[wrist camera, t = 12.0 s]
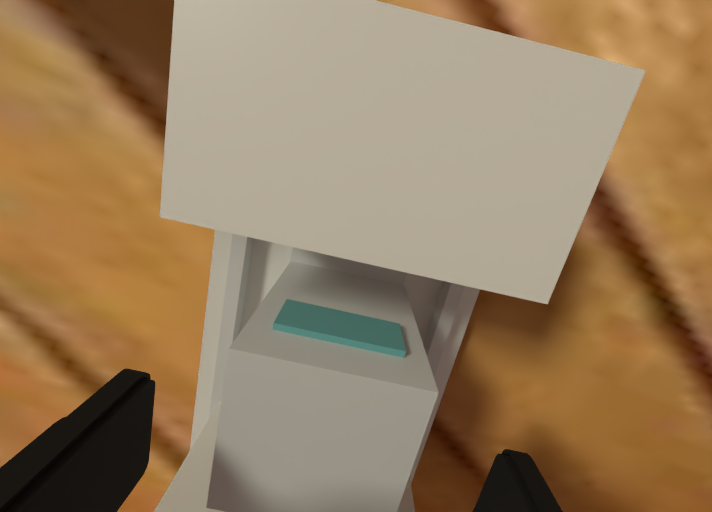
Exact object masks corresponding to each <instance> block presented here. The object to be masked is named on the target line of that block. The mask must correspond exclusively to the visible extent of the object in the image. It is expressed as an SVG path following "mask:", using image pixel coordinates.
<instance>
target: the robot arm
mask: <svg viewBox="0 0 712 512" xmlns="http://www.w3.org/2000/svg"><path fill="white" fill-rule="evenodd" d="M154 394H155V381H153V380H150V374H149V373H145V372H141V371H136V370H131V369H124V370H122V371H121V372H120V373H118V374H117V375H116V376H115V377H114V378H112V379H111V380H110V381H109V382H108V383H106V384H105V385H104V386H103V387H102V388H100V389H99V390H98V391H97V392H96V393H94V394H93V395H92V396H91V397H90V398H89V399H87V400H86V401H85V402H84V403H83V404H81V405H80V406H79V407H78V408H77V409H75V410H74V411H73V412H72V413H71V414H69V415H68V416H67V417H64V418H62V419H60V420H59V421H57V422H56V423H54V424H53V425H52V426H51V427H49V428H48V429H47V430H46V431H45V432H43V433H42V434H41V435H40V436H38V437H37V438H36V439H35V440H34V441H32V442H31V443H30V444H29V445H28V446H26V447H25V448H24V449H23V450H22V451H20V452H19V453H18V454H17V455H15V456H14V457H13V458H12V459H11V460H9V461H8V462H7V463H6V464H5V465H3V466H2V467H1V468H0V512H117V511H118V509H119V508H120V506H121V505H122V504H123V502H124V501H125V500H126V498H127V497H128V495H129V494H130V493H131V491H132V490H133V488H134V487H135V486H136V484H137V483H138V481H139V480H140V479H141V477H142V476H143V474H144V472H145V470H146V468H147V465H148V461H149V452H150V440H151V429H152V417H153V406H154ZM473 512H562V510H561V508H560V506H559V505H558V503H557V501H556V499H555V498H554V496H553V494H552V492H551V491H550V489H549V487H548V485H547V484H546V482H545V480H544V478H543V477H542V475H541V473H540V471H539V470H538V468H537V466H536V465H535V463H534V461H533V459H532V458H531V456H530V455H528V454H527V453H522V452H518V451H513V450H508V449H505V450H504V451H503V452H502V454H498V455H497V456H496V457H495V460H494V462H493V465H492V467H491V469H490V472H489V474H488V477H487V479H486V482H485V484H484V486H483V489H482V491H481V494H480V496H479V498H478V501H477V503H476V506H475V508H474V510H473Z"/></svg>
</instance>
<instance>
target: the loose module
mask: <svg viewBox="0 0 712 512" xmlns="http://www.w3.org/2000/svg"><path fill="white" fill-rule="evenodd" d="M438 393H439V392H438V389H437V386H436V383H435V380H434V377H433V374H432V370H431V367H430V364H429V361H428V358H427V355H426V352H425V349H424V346H423V342H422V339H421V336H420V333H419V330H418V327H417V324H416V321H415V318H414V315H413V311H412V308H411V305H410V302H409V299H408V296H407V293H406V290H405V287H404V286H402V285H398V284H393V283H389V282H384V281H380V280H375V279H371V278H367V277H362V276H358V275H353V274H349V273H344V272H340V271H335V270H331V269H326V268H322V267H318V266H313V265H309V264H304V263H300V262H295V261H291V262H290V263H289V264H288V266H287V267H286V269H285V270H284V271H283V273H282V274H281V276H280V277H279V279H278V280H277V281H276V283H275V284H274V286H273V287H272V288H271V290H270V291H269V293H268V294H267V295H266V297H265V298H264V300H263V301H262V302H261V304H260V305H259V307H258V308H257V309H256V311H255V312H254V314H253V315H252V316H251V318H250V319H249V321H248V322H247V323H246V325H245V326H244V328H243V329H242V330H241V332H240V333H239V335H238V336H237V338H236V339H235V340H234V342H233V343H232V345H231V346H230V347H229V350H228V357H227V365H226V372H225V379H224V386H223V393H222V400H221V407H220V414H219V421H218V428H217V435H216V443H215V450H214V457H213V464H212V471H211V478H210V485H209V492H208V499H207V506H206V508H209V509H214V510H220V511H225V512H397V510H398V507H399V504H400V501H401V499H402V496H403V493H404V490H405V487H406V484H407V482H408V479H409V476H410V473H411V470H412V467H413V464H414V462H415V459H416V456H417V453H418V450H419V447H420V445H421V442H422V439H423V436H424V433H425V430H426V427H427V425H428V422H429V419H430V416H431V413H432V410H433V408H434V405H435V402H436V399H437V396H438Z"/></svg>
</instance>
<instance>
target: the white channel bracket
mask: <svg viewBox="0 0 712 512" xmlns="http://www.w3.org/2000/svg"><path fill="white" fill-rule="evenodd" d="M645 71H646V70H642V69H639V68H635V67H631V66H627V65H623V64H619V63H615V62H612V61H608V60H604V59H600V58H596V57H592V56H588V55H584V54H581V53H577V52H573V51H569V50H565V49H561V48H557V47H554V46H550V45H546V44H542V43H538V42H534V41H530V40H526V39H523V38H519V37H515V36H511V35H507V34H503V33H499V32H496V31H492V30H488V29H484V28H480V27H476V26H472V25H468V24H465V23H461V22H457V21H453V20H449V19H445V18H441V17H438V16H434V15H430V14H426V13H422V12H418V11H414V10H410V9H407V8H403V7H399V6H395V5H391V4H387V3H383V2H380V1H376V0H174V13H173V28H172V43H171V58H170V73H169V88H168V102H167V117H166V132H165V147H164V162H163V177H162V191H161V206H160V217H162V218H166V219H170V220H175V221H179V222H184V223H188V224H193V225H197V226H201V227H206V228H210V229H215V236H214V245H213V254H212V262H211V271H210V280H209V288H208V297H207V306H206V315H205V323H204V332H203V341H202V349H201V358H200V367H199V376H198V384H197V393H196V402H195V410H194V419H193V428H192V437H191V445H190V452H189V453H188V455H187V457H186V458H185V460H184V462H183V464H182V465H181V467H180V469H179V470H178V472H177V474H176V475H175V477H174V479H173V480H172V482H171V484H170V485H169V487H168V489H167V490H166V492H165V494H164V495H163V497H162V499H161V501H160V502H159V504H158V506H157V507H156V509H155V511H154V512H225V511H220V510H214V509H209V508H206V506H207V499H208V492H209V485H210V478H211V471H212V464H213V457H214V450H215V443H216V435H217V428H218V421H219V414H220V407H221V400H222V393H223V386H224V379H225V372H226V365H227V357H228V350H229V347H230V346H231V345H232V343H233V342H234V340H235V339H236V338H237V336H238V335H239V333H240V332H241V330H242V329H243V328H244V326H245V325H246V323H247V322H248V321H249V319H250V318H251V316H252V315H253V314H254V312H255V311H256V309H257V308H258V307H259V305H260V304H261V302H262V301H263V300H264V298H265V297H266V295H267V294H268V293H269V291H270V290H271V288H272V287H273V286H274V284H275V283H276V281H277V280H278V279H279V277H280V276H281V274H282V273H283V271H284V270H285V269H286V267H287V266H288V264H289V263H290V262H291V261H295V262H300V263H304V264H309V265H313V266H318V267H322V268H326V269H331V270H335V271H340V272H344V273H349V274H353V275H358V276H362V277H367V278H371V279H375V280H380V281H384V282H389V283H393V284H398V285H402V286H404V287H405V290H406V293H407V296H408V299H409V302H410V305H411V308H412V311H413V315H414V318H415V321H416V324H417V327H418V330H419V333H420V336H421V339H422V342H423V346H424V349H425V352H426V355H427V358H428V361H429V364H430V367H431V370H432V374H433V377H434V380H435V383H436V386H437V389H438V392H439V393H438V396H437V399H436V402H435V405H434V408H433V410H432V413H431V416H430V419H429V422H428V425H427V427H426V430H425V433H424V436H423V439H422V442H421V445H420V447H419V450H418V453H417V456H416V459H415V462H414V464H413V467H412V470H411V473H410V476H409V479H408V482H407V484H406V487H405V490H404V493H403V496H402V499H401V501H400V504H399V507H398V510H397V512H415V508H414V501H413V495H412V488H411V483H412V480H413V477H414V474H415V472H416V469H417V466H418V463H419V460H420V457H421V455H422V452H423V449H424V446H425V443H426V441H427V438H428V435H429V432H430V429H431V427H432V424H433V421H434V418H435V415H436V412H437V410H438V407H439V404H440V401H441V398H442V396H443V393H444V390H445V387H446V384H447V381H448V379H449V376H450V373H451V370H452V367H453V365H454V362H455V359H456V356H457V353H458V351H459V348H460V345H461V342H462V339H463V336H464V334H465V331H466V328H467V325H468V322H469V320H470V317H471V314H472V311H473V308H474V305H475V303H476V300H477V297H478V294H479V291H480V289H481V290H486V291H490V292H494V293H499V294H503V295H508V296H512V297H517V298H521V299H526V300H530V301H534V302H539V303H543V304H548V302H549V300H550V297H551V295H552V292H553V290H554V288H555V285H556V283H557V281H558V278H559V276H560V273H561V271H562V269H563V266H564V264H565V261H566V259H567V257H568V254H569V252H570V250H571V247H572V245H573V242H574V240H575V238H576V235H577V233H578V231H579V228H580V226H581V223H582V221H583V219H584V216H585V214H586V212H587V209H588V207H589V204H590V202H591V200H592V197H593V195H594V192H595V190H596V188H597V185H598V183H599V181H600V178H601V176H602V173H603V171H604V169H605V166H606V164H607V162H608V159H609V157H610V154H611V152H612V150H613V147H614V145H615V143H616V140H617V138H618V135H619V133H620V131H621V128H622V126H623V123H624V121H625V119H626V116H627V114H628V112H629V109H630V107H631V104H632V102H633V100H634V97H635V95H636V93H637V90H638V88H639V85H640V83H641V81H642V78H643V76H644V74H645Z"/></svg>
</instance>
